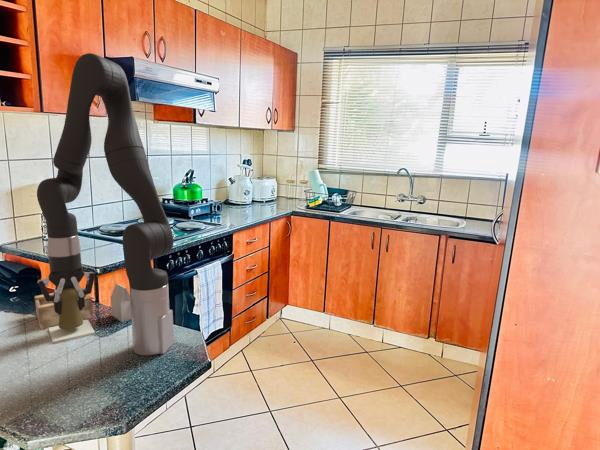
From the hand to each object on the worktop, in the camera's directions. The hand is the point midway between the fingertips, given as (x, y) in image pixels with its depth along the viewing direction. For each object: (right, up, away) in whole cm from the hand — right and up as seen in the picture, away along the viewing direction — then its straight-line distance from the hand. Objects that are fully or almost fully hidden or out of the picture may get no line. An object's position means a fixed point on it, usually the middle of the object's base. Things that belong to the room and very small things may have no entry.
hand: (70, 311), depth 113 cm
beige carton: (+10, -4, +12) cm, 16 cm away
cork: (0, -4, +1) cm, 4 cm away
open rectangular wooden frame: (-8, -4, +11) cm, 14 cm away
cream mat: (0, -6, +1) cm, 6 cm away
